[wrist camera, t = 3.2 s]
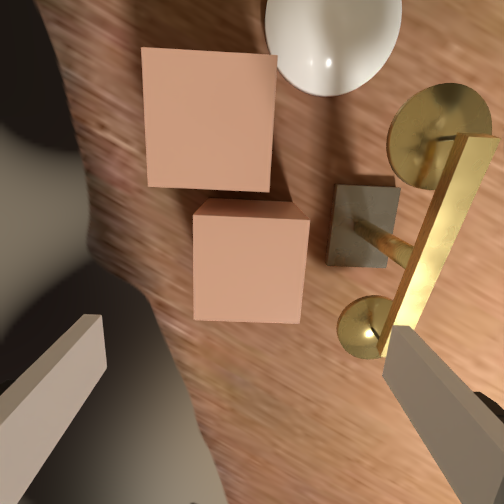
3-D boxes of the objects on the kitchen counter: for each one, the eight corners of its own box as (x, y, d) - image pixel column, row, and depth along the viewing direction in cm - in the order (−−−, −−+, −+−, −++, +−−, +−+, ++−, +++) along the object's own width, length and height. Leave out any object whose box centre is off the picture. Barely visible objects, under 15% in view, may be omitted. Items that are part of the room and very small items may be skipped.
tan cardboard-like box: (174, 81, 27) (140, 47, 19) (268, 86, 27) (277, 55, 19) (176, 177, 30) (148, 186, 21) (262, 181, 30) (269, 192, 21)
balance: (343, 108, 28) (438, 61, 14) (409, 111, 28) (567, 69, 14) (317, 319, 34) (365, 431, 20) (371, 321, 35) (455, 433, 21)
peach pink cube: (208, 197, 30) (192, 214, 22) (292, 201, 30) (310, 220, 22) (207, 276, 33) (193, 320, 24) (285, 279, 33) (299, 323, 24)
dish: (269, -62, 24) (269, -71, 23) (407, -53, 25) (414, -61, 24) (261, 93, 28) (261, 91, 27) (383, 100, 28) (388, 98, 27)
